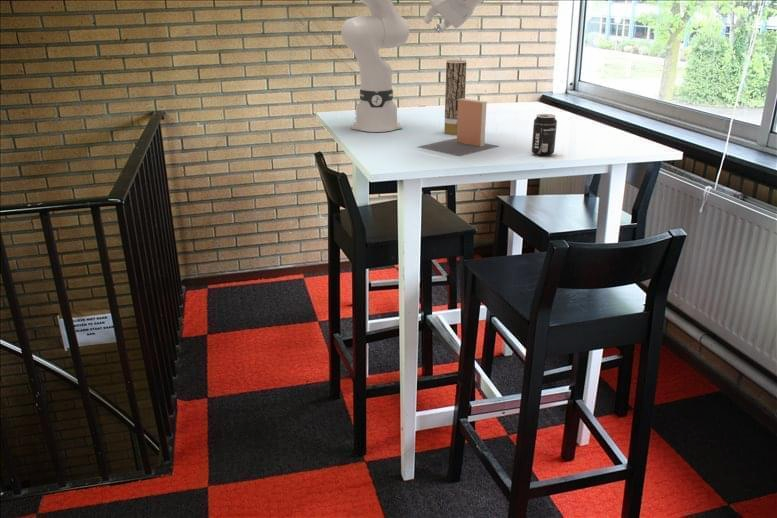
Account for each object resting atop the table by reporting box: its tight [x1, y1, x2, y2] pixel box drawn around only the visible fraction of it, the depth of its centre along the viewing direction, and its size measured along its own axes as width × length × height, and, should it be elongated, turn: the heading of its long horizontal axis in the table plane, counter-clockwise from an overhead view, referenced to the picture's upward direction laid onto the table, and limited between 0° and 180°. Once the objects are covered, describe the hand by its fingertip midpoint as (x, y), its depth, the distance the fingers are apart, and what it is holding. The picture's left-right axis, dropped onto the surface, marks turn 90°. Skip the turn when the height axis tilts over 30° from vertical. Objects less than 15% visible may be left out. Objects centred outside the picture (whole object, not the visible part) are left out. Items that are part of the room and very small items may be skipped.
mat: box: [417, 137, 500, 157], centre depth 213 cm, size 20×18×1 cm
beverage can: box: [531, 113, 558, 157], centre depth 201 cm, size 7×7×12 cm
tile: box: [456, 98, 487, 147], centre depth 214 cm, size 2×10×14 cm, turn 44°
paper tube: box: [443, 59, 467, 136], centre depth 228 cm, size 7×7×25 cm
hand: (430, 26), depth 197 cm, fingers open, 8 cm apart
